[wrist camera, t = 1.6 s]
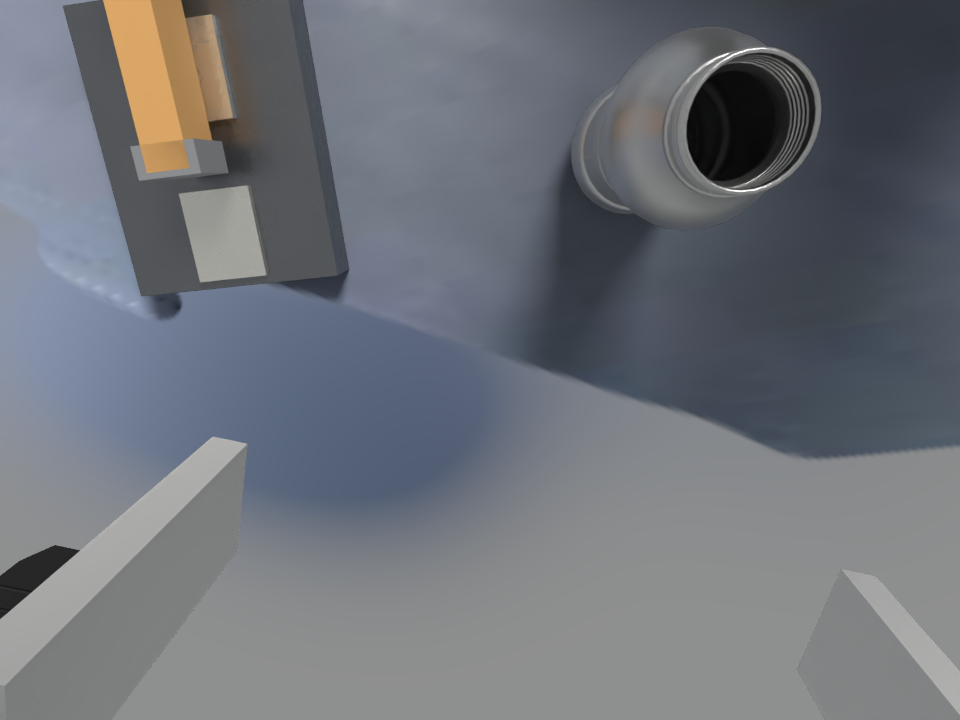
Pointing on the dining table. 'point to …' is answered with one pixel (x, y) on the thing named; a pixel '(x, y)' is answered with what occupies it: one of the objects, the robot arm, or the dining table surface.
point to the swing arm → (163, 91)
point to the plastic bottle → (697, 129)
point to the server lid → (247, 147)
